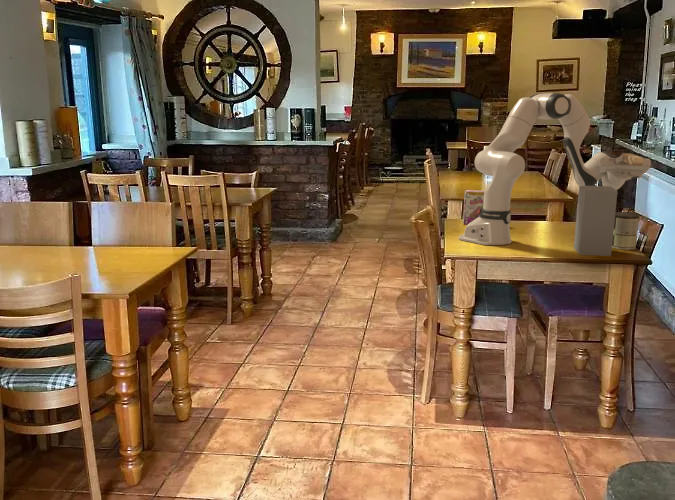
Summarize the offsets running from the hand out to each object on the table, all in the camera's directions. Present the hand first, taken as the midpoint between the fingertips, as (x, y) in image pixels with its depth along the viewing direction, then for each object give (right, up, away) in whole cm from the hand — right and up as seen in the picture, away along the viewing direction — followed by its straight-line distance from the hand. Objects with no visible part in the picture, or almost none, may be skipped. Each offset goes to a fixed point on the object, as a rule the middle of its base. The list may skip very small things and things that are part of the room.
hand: (629, 157), depth 275 cm
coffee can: (-1, -37, +5) cm, 37 cm away
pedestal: (-17, -39, -4) cm, 43 cm away
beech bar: (-1, -3, -4) cm, 5 cm away
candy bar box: (-53, -26, +52) cm, 78 cm away
